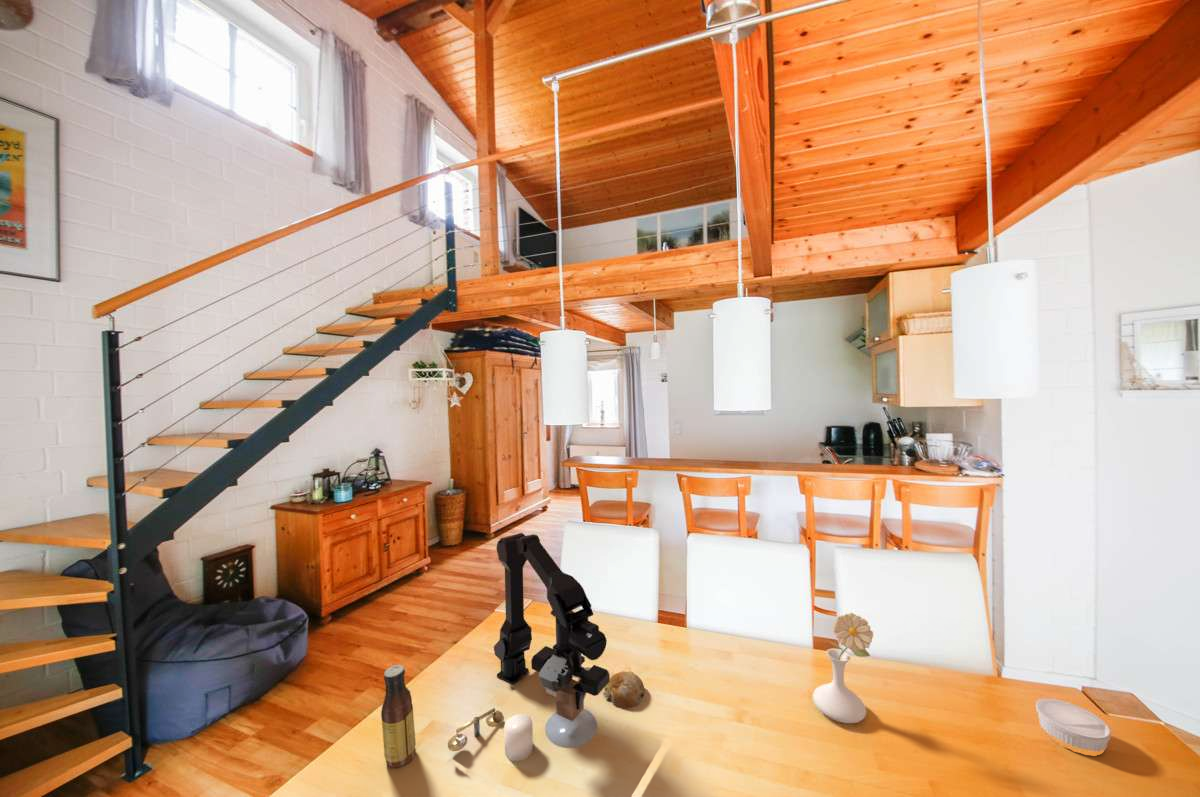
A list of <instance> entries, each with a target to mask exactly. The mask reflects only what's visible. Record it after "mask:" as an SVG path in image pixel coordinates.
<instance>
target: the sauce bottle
mask: <svg viewBox="0 0 1200 797" xmlns="http://www.w3.org/2000/svg"><path fill="white" fill-rule="evenodd" d="M405 674H406V670H405V666H404V665H402V664H395V665H392V666H390V667H388V668H387V669H386V670H385V671H384V674H383V680H384V682H385V695H384V700H383V703H382V706H381V713H380V716H381V717H380V718H381V727H382V741H383V754H384V759H385V763H386V765H387V766H388V767H390V766H391V767H390V768H393V767H398V768H400V767H401V766H404V765H406V764H408V763H409V762H410V761H411V760H412V759H413V758H414V756H415V755H416V745H417V743H416V732H415V731H416V729H415V720H414V718H415V717H414V705H413V701H412V700H413V698H412V694H411V691H410V690H409V688H407V686H406V684H405Z"/></svg>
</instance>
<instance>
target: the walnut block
mask: <svg viewBox="0 0 1200 797" xmlns="http://www.w3.org/2000/svg"><path fill="white" fill-rule="evenodd" d="M577 683H578V680H576V679H573V678H572V680H571V682H570V684H569V685H568V687H567V688H565V687H562V688H561V689H560V690H559V691H558V692H556V697H555V701H556V702H555V703H556V712H557V714H558V715H560V716H562V717H564V718H566V719H568V720H570V721H572V722H573V721H574V719H575V718H576V717H577V716H578V715H579V714H580V713H581V711H582V710H583V709H585V708H584V707H585V706H584V705H585V701H583V703H582V706H581V708H580V709H579V710H577V707H576V691H575V690H574V689H573V687H574V686H575V685H576V684H577Z"/></svg>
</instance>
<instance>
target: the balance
mask: <svg viewBox="0 0 1200 797" xmlns="http://www.w3.org/2000/svg"><path fill="white" fill-rule="evenodd" d="M484 718H486V719H485V724H486V725H487V726H489V727H496V726H498V725H500V724H501V723H502V722H503V721H504V714H503V712H502V711H500V710H498V709H497V710H496V708H495V707H494V708H491V709H490V710H488V711H486V712H484V713H483V714H481V715H479V716H475V717H474V718H473V720H471V721H469V722H467V723H465V724H464V725H462V726H461V727H459V728H457V729H456V735H453V736H452V737H451V738H450V739H448V741H447V742H448V743H447V749H448V750H449V751H452V752H457V751H460V750H462V749H464V747H466V746H467V744H468V737H467V736H466V734H464V733H463V734H462V733H461V732H462V731H464V730H466V729H467V728H469V727H470V726H472V725H473V732H474V736H473V737H474V738H479V737H480V736H481V732H480V731H481V730H480V724H481V723H480V721H481V720H482V719H484Z"/></svg>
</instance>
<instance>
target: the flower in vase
mask: <svg viewBox="0 0 1200 797" xmlns="http://www.w3.org/2000/svg"><path fill="white" fill-rule="evenodd" d="M834 622H835V623H833V625H834V626H833V629H832V632H833V633H834V636H835V638H837V642H838V643H839V644H840V645H841V646H844V649H843V648H841V646H839V645H838V644H836V643H835V642H832V641H831V640H829V639H828V638H826V640H827V641H828V642H829V643H830V644H831V645H833V646H834V647H835V648H829V649H827V650H826V655H827V657H828V658H829V660H830V662H831V665H832V674H833V675H832V681H831V682H829V683H824V684H821V685H819V686H818V687H816V688H815V689H814V691H813V693H812V696H811V698H812V701H813V703H814V705H815V707H816V708H817V709H818V710H819V711H820V712H821V713H822V714H823V715H825V716H826V717H828V718H830V719H831V720H835V721H837V722H841V723H844V724H856V723H860V722H862V720H864V718H865V717H867V716H866V715H867V708H866V707H865V703H864V702H863V700H862V699H861V698H859V696H858V695H857V694H856V693H855V692H854V691H852V690H851V689H849V688H848V687H847V686H846V684H845V676H844V675H845V667H846V664H847V663H848V662H849V661H850V660H851V656H850V655H849V653H848V652H846V651H847V650H848V649H849V650H850V651H851V652H852V653H853V654H854V656H857V657H861V658H863V657H864V658H865V657H870V656H871V654H870V653H869V652H868V651H867V649H869V648H870V646H871V644H872V641H873V638H874V631H873V630H871V626H870V625H869V622H868V620H866V619H865V618H864V617H862V616H860V615H858V614H857V615H856V614H855V613H853V612H849V613H843V614H841V615H838V616H837V618H836V621H834Z"/></svg>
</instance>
